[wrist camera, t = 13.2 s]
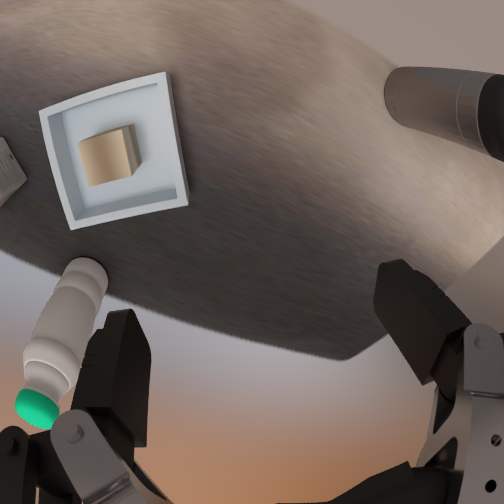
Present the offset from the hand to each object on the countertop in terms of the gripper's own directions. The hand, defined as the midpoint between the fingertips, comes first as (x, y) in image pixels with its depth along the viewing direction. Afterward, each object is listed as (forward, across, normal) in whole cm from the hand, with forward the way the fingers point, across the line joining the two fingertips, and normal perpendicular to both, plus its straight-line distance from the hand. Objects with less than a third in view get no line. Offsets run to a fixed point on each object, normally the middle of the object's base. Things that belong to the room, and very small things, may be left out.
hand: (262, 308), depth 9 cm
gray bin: (+30, +12, -2) cm, 32 cm away
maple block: (+29, +12, -2) cm, 31 cm away
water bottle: (+30, +22, +15) cm, 40 cm away
